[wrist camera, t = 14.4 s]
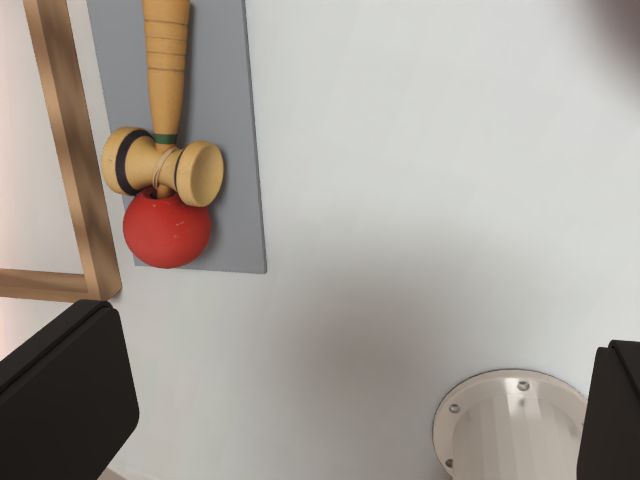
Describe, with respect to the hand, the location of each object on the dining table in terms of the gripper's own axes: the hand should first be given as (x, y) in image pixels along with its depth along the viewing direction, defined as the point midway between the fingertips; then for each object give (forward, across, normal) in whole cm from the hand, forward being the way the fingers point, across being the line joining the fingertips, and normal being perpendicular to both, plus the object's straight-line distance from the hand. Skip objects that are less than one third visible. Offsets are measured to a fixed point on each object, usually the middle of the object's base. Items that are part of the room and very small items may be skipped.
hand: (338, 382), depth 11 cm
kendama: (+28, +17, +1) cm, 32 cm away
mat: (+28, +17, +2) cm, 33 cm away
